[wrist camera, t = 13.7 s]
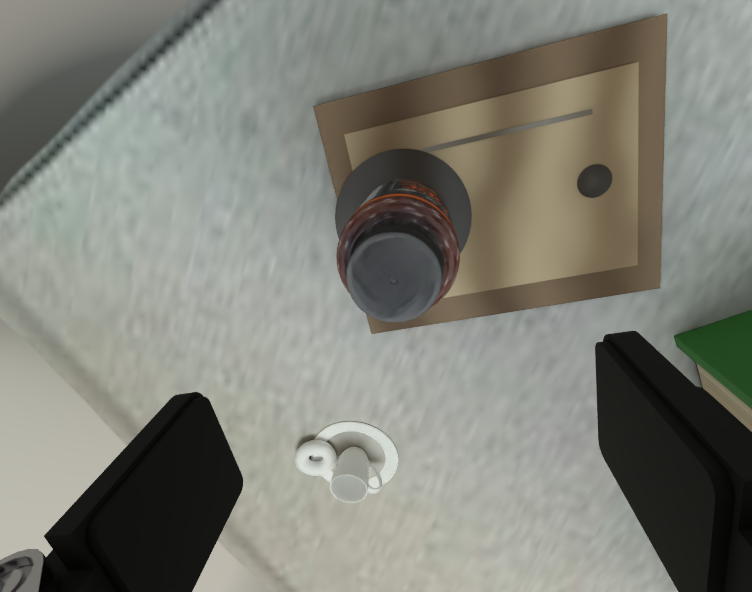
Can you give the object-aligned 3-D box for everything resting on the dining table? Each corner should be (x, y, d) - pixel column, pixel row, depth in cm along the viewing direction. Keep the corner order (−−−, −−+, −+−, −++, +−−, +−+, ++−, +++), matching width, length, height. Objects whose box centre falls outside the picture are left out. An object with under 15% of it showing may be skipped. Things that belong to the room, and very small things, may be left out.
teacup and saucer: (289, 455, 38) (275, 490, 34) (332, 398, 35) (321, 430, 31) (368, 498, 39) (363, 538, 36) (416, 447, 36) (415, 484, 33)
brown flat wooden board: (657, 17, 23) (670, 11, 22) (652, 282, 28) (662, 289, 27) (309, 109, 26) (304, 107, 25) (366, 329, 32) (364, 336, 31)
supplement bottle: (467, 205, 26) (499, 256, 16) (420, 280, 29) (421, 368, 18) (386, 158, 26) (364, 179, 15) (344, 239, 28) (300, 305, 18)
